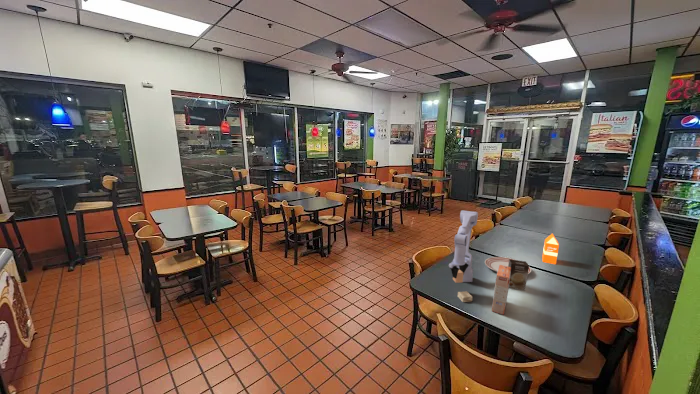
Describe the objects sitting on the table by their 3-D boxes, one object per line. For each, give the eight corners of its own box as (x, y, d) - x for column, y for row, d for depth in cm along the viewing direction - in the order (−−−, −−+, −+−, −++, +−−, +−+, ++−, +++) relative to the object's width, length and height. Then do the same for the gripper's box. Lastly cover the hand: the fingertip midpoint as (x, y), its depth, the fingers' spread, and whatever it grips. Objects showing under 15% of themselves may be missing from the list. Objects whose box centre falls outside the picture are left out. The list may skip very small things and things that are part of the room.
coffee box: (507, 288, 159) (511, 263, 155) (505, 282, 165) (508, 258, 161) (525, 291, 156) (529, 265, 152) (522, 285, 162) (526, 261, 158)
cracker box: (504, 315, 134) (509, 278, 130) (491, 311, 138) (495, 274, 133) (506, 301, 146) (511, 266, 141) (494, 298, 149) (498, 263, 144)
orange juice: (554, 259, 195) (559, 234, 191) (556, 264, 188) (560, 237, 184) (541, 257, 199) (545, 232, 195) (542, 261, 192) (546, 235, 188)
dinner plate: (486, 275, 175) (486, 270, 174) (482, 258, 200) (483, 253, 199) (535, 283, 165) (536, 278, 164) (525, 264, 189) (526, 259, 189)
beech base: (466, 296, 152) (467, 291, 151) (472, 301, 146) (472, 296, 146) (457, 296, 151) (458, 292, 150) (462, 302, 146) (463, 297, 145)
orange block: (459, 278, 157) (460, 269, 156) (462, 282, 153) (463, 272, 152) (452, 279, 157) (453, 269, 156) (455, 282, 153) (456, 273, 152)
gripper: (462, 249, 158) (460, 270, 161) (445, 254, 152) (443, 276, 155) (473, 253, 152) (470, 275, 155) (455, 259, 146) (453, 281, 148)
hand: (457, 276), depth 154 cm, fingers closed on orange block, 5 cm apart
